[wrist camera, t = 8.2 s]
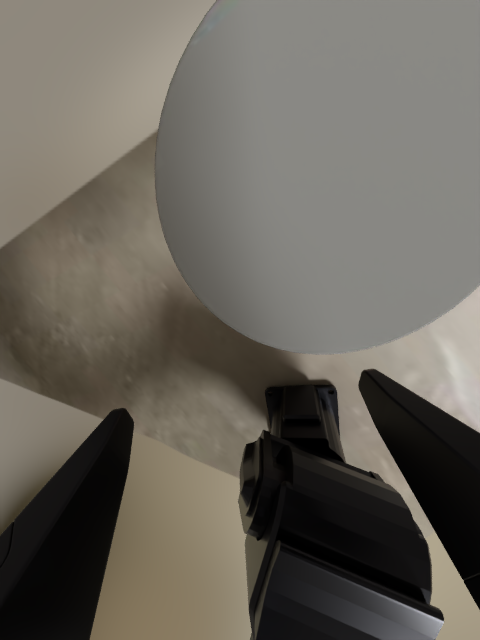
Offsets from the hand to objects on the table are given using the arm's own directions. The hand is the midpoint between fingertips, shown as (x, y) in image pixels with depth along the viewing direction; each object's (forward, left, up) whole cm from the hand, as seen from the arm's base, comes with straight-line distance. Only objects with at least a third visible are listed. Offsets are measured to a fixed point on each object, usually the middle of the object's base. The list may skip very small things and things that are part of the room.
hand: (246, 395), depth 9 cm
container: (+6, -3, -11) cm, 13 cm away
